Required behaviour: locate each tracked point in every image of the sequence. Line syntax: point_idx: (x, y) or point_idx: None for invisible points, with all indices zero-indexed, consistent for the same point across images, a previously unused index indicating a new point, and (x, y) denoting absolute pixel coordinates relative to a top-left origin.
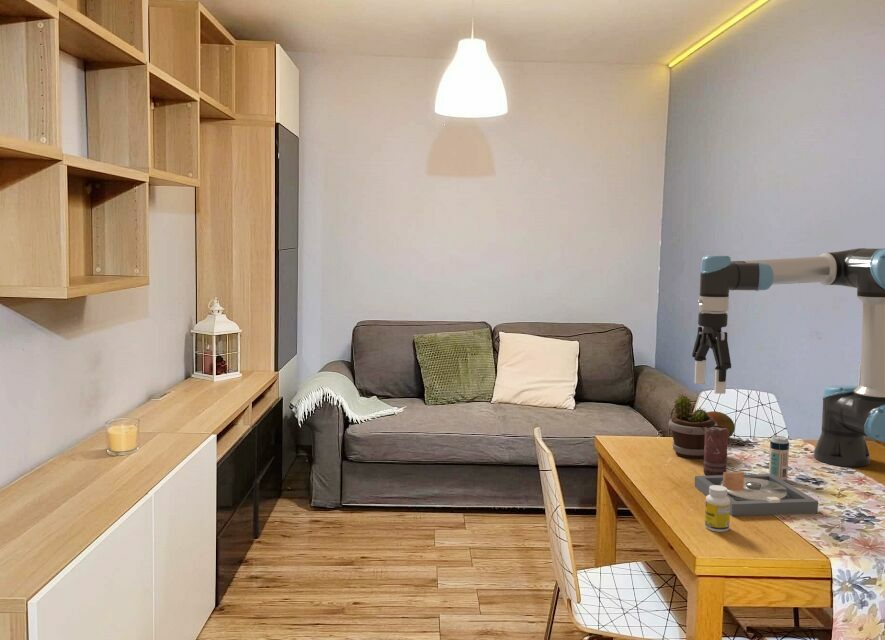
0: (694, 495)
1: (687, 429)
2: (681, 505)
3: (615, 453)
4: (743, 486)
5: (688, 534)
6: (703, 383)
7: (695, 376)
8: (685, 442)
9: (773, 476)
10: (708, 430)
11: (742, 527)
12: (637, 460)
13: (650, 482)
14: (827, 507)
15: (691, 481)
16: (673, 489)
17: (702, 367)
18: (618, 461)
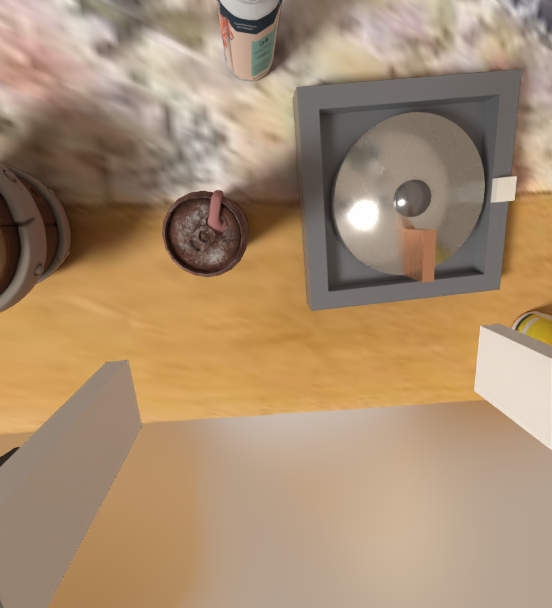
0: (362, 319)
1: (32, 277)
2: (415, 359)
3: None
4: (405, 223)
5: None
6: (128, 370)
7: (114, 469)
8: (43, 268)
9: (321, 95)
10: (220, 271)
11: (535, 284)
12: None
13: (277, 386)
14: (468, 29)
15: (270, 299)
16: (323, 351)
17: (53, 489)
18: None
